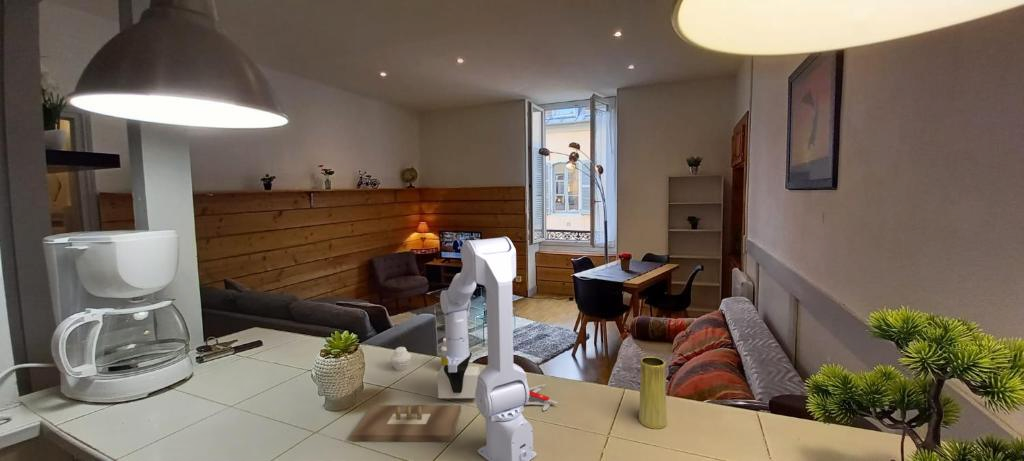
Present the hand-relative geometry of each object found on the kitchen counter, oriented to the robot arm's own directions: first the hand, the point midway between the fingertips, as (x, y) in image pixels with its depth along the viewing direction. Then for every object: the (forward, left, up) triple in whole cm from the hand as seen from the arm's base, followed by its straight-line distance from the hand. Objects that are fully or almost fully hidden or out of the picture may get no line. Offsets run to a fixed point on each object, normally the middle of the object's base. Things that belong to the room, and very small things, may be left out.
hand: (459, 386), depth 102 cm
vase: (-40, -25, -4) cm, 47 cm away
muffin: (+28, +2, -4) cm, 28 cm away
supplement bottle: (+16, -8, -4) cm, 18 cm away
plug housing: (0, 0, -2) cm, 2 cm away
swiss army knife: (-15, -13, -4) cm, 20 cm away
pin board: (-1, +15, -3) cm, 15 cm away
